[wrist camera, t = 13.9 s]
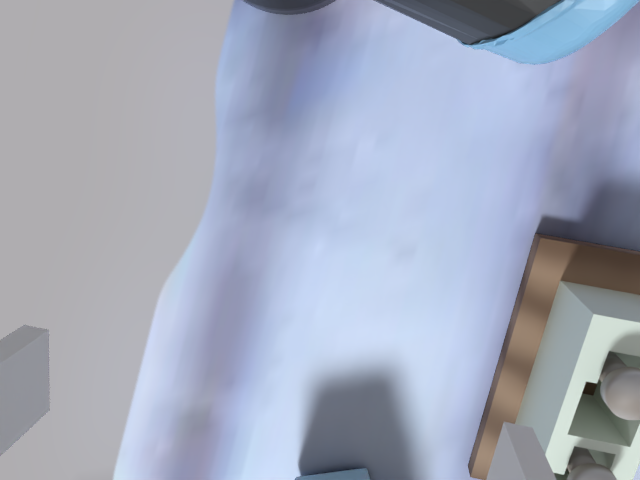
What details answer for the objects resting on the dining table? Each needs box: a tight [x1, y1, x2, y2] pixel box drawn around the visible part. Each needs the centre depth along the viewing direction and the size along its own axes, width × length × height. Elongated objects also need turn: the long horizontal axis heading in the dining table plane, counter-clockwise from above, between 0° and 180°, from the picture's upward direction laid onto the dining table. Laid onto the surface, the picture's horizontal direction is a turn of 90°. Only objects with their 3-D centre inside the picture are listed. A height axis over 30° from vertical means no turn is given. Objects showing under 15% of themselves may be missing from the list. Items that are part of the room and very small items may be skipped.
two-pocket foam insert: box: [515, 281, 640, 480], centre depth 42 cm, size 21×7×7 cm, turn 171°
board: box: [468, 233, 640, 480], centre depth 41 cm, size 25×12×11 cm, turn 171°
